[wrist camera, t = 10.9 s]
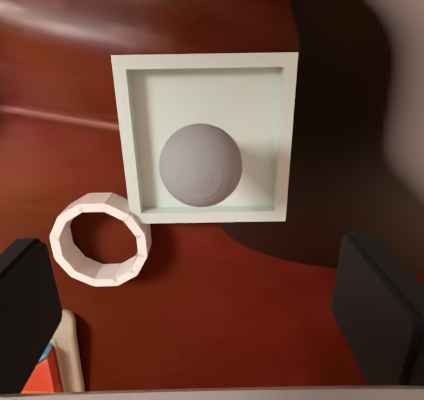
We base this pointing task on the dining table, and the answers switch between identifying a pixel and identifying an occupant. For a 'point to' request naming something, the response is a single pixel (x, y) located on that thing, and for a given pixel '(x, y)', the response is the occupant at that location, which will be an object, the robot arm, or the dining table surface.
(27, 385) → the wooden puzzle
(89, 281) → the holder ring
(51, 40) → the dining table surface
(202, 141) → the light bulb
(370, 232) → the robot arm
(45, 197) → the dining table surface
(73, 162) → the dining table surface
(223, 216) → the tray
